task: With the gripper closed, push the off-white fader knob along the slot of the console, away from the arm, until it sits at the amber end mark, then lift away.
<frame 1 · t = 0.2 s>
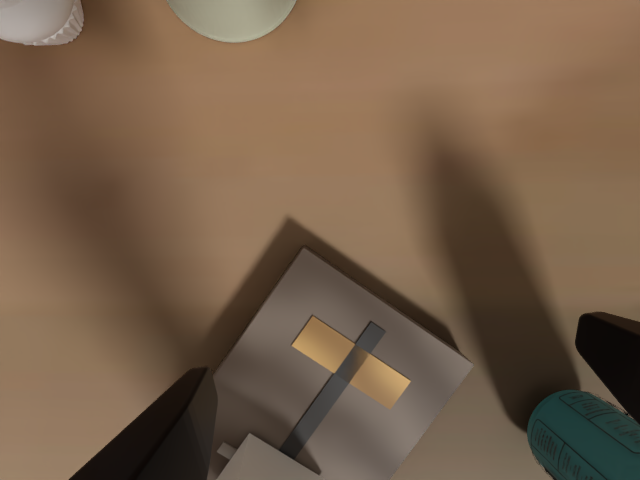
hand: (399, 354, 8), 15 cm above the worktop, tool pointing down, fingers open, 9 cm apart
fader console: (312, 400, 24), on the worktop
muffin: (60, 20, 21), on the worktop
beverage bottle: (550, 413, 25), on the worktop
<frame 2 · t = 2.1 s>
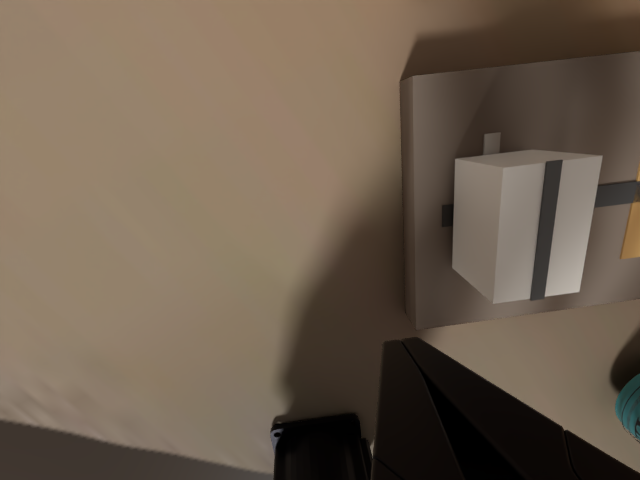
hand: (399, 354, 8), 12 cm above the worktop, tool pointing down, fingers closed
fader console: (548, 192, 20), on the worktop
fader knob: (514, 222, 16), point 4 cm above the worktop, slide at 0.0 cm
beverage bottle: (633, 379, 26), on the worktop
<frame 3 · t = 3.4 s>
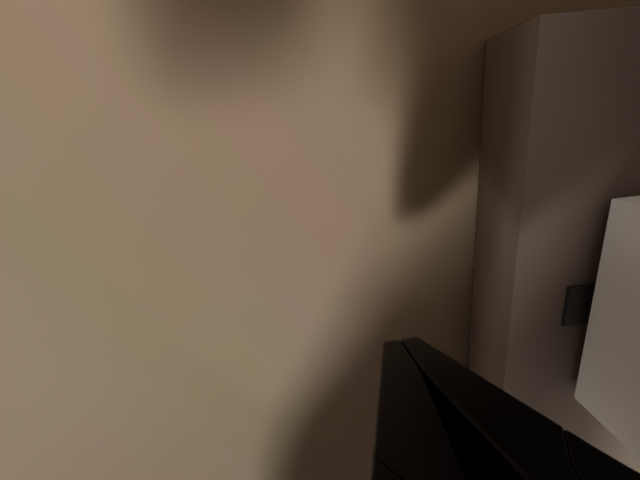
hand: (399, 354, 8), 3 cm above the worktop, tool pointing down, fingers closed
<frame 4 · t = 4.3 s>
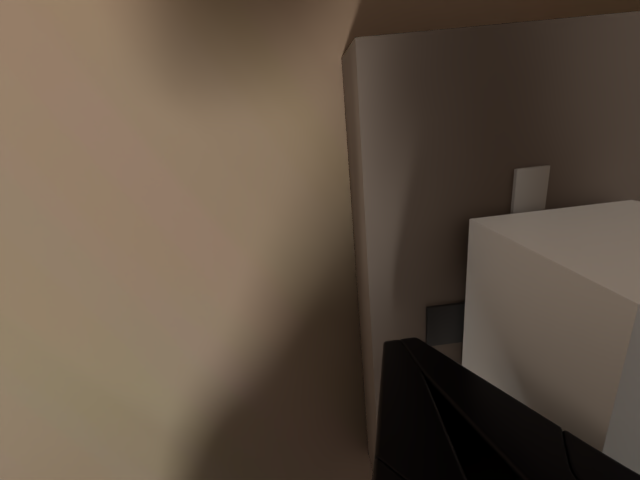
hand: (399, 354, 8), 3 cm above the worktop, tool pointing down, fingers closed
fader console: (620, 264, 11), on the worktop
fader knob: (605, 371, 7), point 4 cm above the worktop, slide at 0.4 cm, touching gripper
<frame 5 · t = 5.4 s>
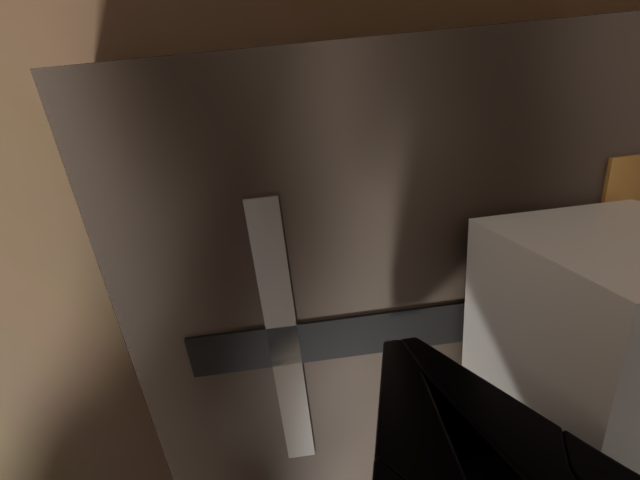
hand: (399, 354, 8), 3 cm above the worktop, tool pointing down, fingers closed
fader console: (436, 287, 11), on the worktop
fader knob: (605, 371, 7), point 4 cm above the worktop, slide at 6.8 cm, touching gripper
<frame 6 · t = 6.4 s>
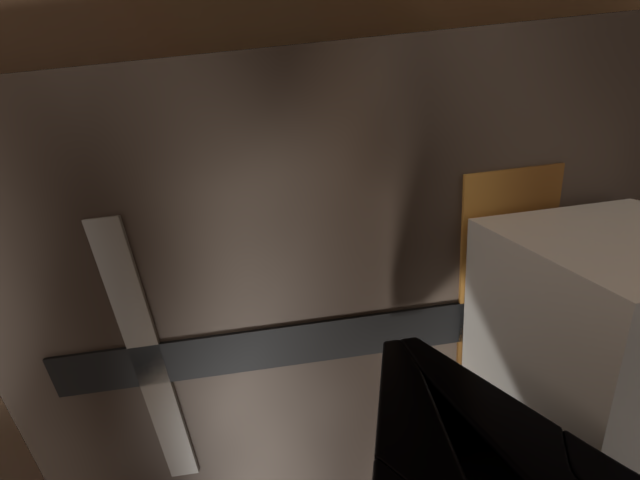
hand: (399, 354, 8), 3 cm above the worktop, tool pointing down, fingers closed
fader console: (330, 301, 11), on the worktop
fader knob: (605, 370, 7), point 4 cm above the worktop, slide at 10.3 cm, touching gripper
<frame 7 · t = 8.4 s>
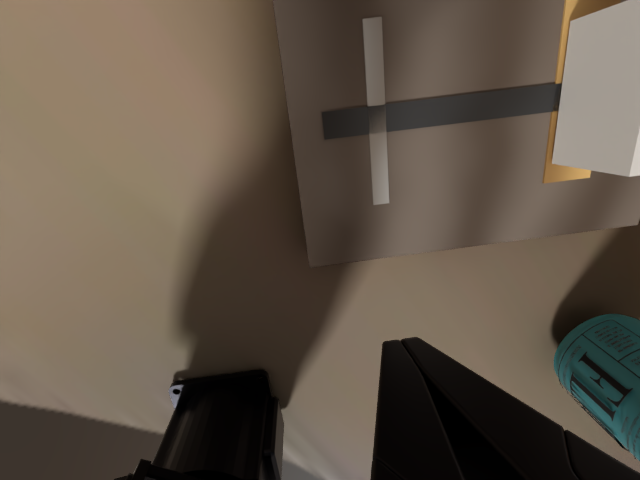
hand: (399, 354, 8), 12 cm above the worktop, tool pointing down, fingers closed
fader console: (462, 108, 17), on the worktop
beverage bottle: (578, 336, 23), on the worktop
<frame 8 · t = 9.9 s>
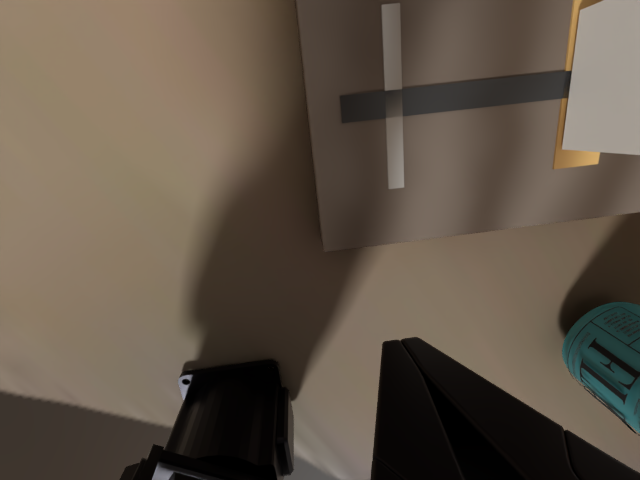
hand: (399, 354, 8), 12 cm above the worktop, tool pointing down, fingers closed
fader console: (474, 96, 18), on the worktop
beverage bottle: (585, 326, 23), on the worktop
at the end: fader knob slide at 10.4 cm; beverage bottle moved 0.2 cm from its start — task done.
